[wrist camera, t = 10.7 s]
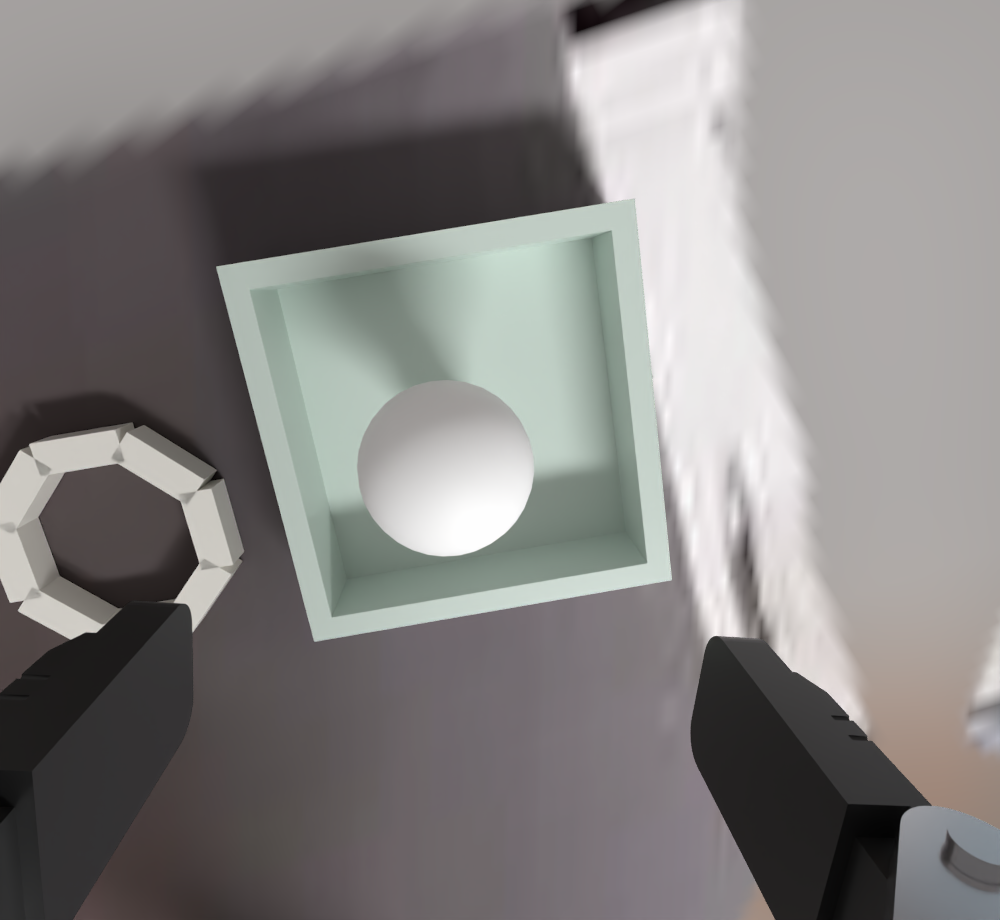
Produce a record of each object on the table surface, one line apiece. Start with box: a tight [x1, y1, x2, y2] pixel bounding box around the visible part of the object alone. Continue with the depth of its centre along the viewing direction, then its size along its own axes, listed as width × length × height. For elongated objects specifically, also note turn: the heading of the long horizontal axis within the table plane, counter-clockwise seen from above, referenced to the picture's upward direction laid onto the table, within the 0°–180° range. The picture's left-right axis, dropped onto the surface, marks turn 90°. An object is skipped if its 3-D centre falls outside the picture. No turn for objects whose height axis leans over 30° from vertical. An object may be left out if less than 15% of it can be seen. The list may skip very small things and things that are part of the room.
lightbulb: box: [357, 380, 534, 557], centre depth 25 cm, size 6×6×11 cm
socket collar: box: [0, 422, 244, 639], centre depth 31 cm, size 10×10×2 cm
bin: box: [216, 199, 672, 642], centre depth 29 cm, size 16×16×4 cm
